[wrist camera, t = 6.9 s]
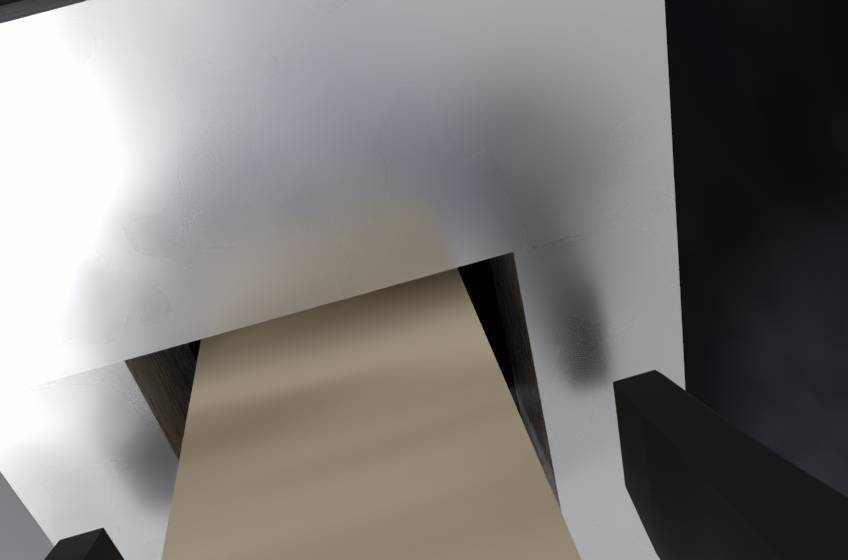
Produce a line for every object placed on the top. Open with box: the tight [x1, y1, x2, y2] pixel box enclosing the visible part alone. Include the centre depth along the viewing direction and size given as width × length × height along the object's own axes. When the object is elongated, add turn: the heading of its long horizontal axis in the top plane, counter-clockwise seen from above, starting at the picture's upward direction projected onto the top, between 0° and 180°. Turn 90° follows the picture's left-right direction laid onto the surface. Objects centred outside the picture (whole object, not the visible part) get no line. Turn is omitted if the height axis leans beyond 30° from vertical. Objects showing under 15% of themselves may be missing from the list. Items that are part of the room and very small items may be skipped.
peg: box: [161, 268, 581, 560], centre depth 10 cm, size 4×4×7 cm
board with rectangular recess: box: [0, 0, 685, 560], centre depth 13 cm, size 18×10×2 cm, turn 13°
